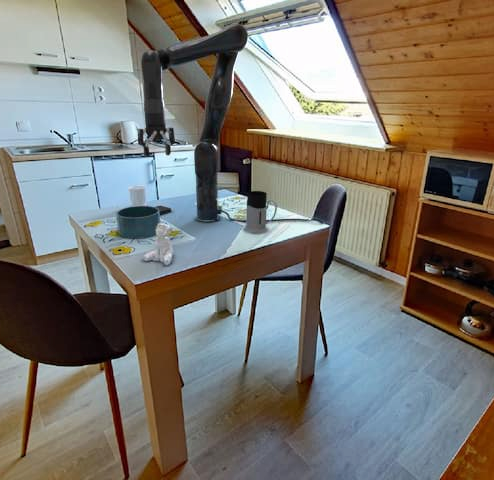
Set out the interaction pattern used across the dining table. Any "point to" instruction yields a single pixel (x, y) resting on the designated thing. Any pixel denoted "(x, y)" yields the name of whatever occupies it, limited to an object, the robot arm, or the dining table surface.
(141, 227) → the cooking pot
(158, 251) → the seated beast figurine
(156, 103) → the robot arm
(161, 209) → the smart home device
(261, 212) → the travel mug
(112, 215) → the dining table surface
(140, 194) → the white cup
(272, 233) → the dining table surface
